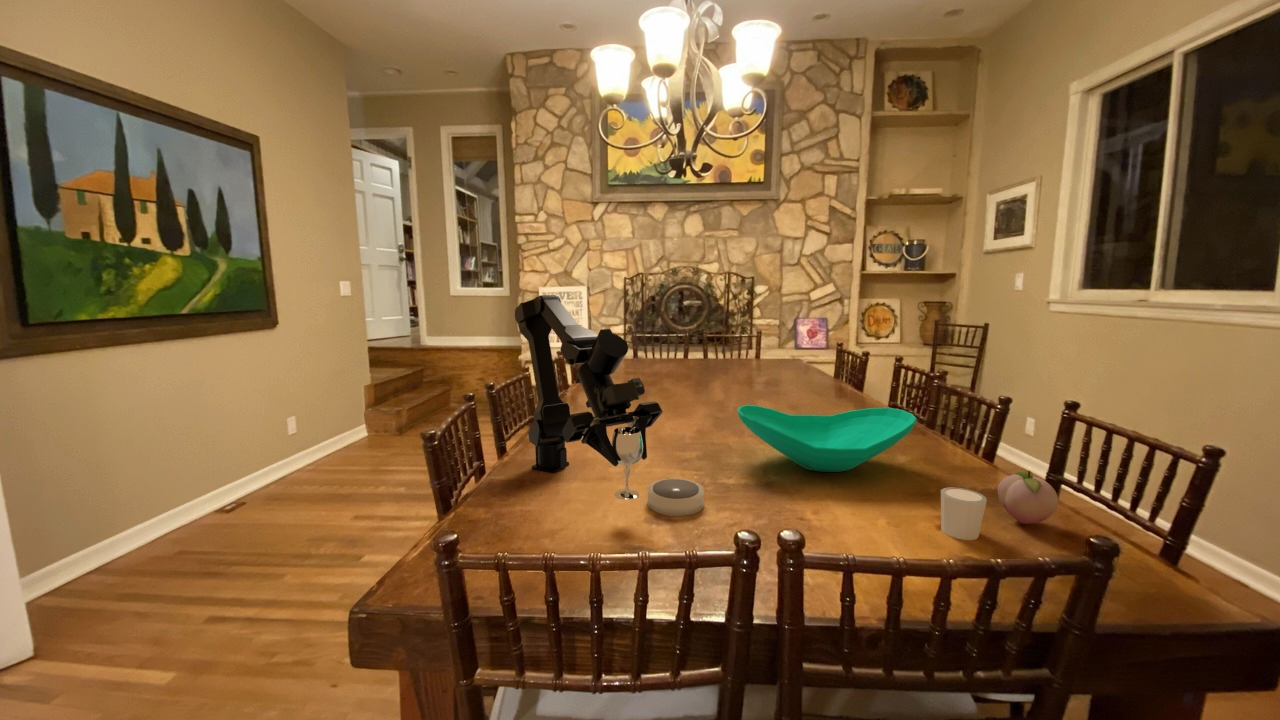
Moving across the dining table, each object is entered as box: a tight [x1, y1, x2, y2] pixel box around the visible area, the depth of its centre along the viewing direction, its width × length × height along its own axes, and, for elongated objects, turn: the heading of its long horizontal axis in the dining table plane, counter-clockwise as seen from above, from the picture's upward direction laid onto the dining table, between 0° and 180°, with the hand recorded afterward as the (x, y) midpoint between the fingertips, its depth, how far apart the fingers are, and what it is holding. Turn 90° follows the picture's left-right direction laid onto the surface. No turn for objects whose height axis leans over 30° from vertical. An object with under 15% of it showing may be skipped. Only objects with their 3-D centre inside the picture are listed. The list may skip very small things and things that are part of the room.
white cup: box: [940, 486, 987, 541], centre depth 92 cm, size 7×7×7 cm
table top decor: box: [736, 404, 918, 473], centre depth 123 cm, size 40×28×13 cm
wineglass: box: [610, 426, 643, 501], centre depth 94 cm, size 6×6×12 cm
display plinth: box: [647, 478, 705, 517], centre depth 103 cm, size 11×11×3 cm
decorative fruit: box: [997, 470, 1059, 525], centre depth 95 cm, size 9×8×10 cm
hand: (631, 461), depth 93 cm, fingers closed on wineglass, 6 cm apart
